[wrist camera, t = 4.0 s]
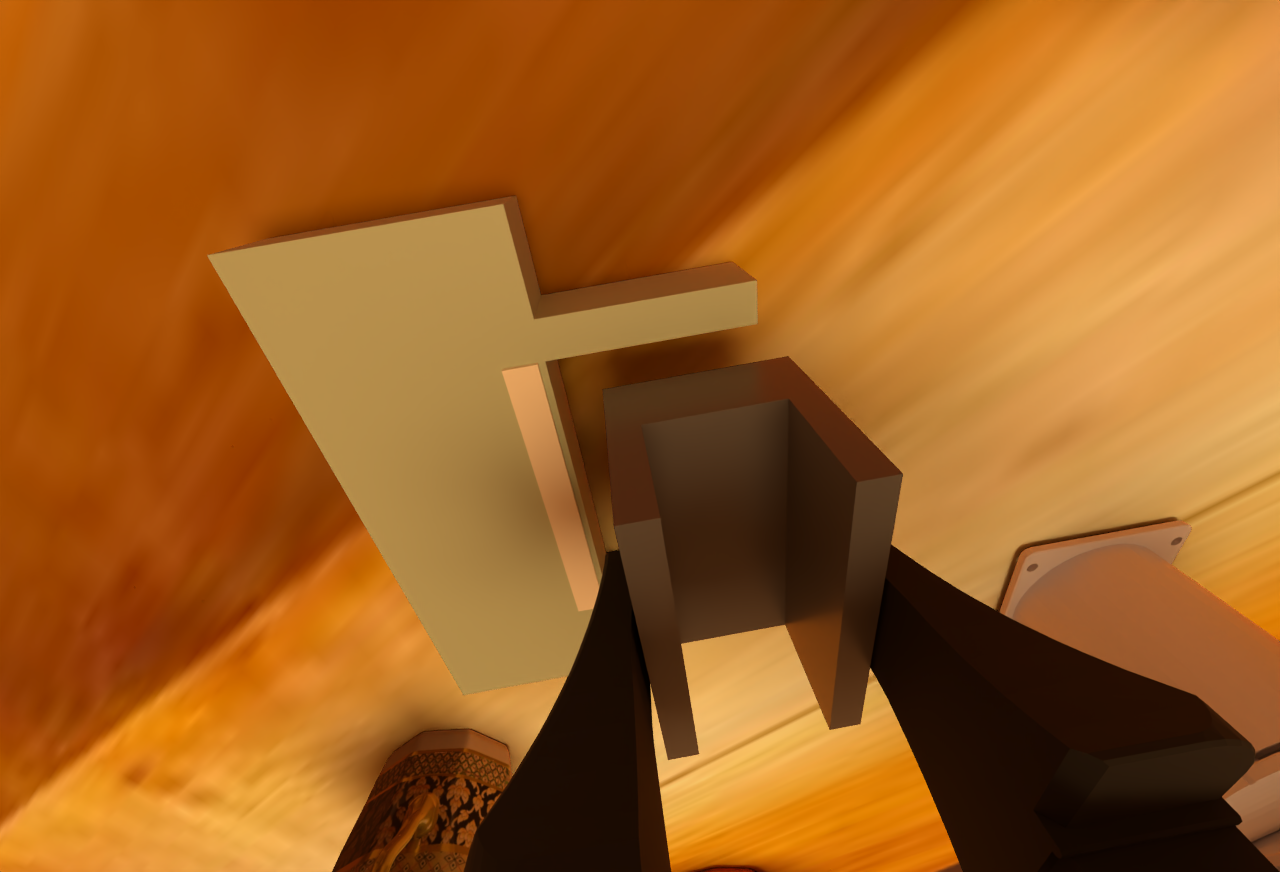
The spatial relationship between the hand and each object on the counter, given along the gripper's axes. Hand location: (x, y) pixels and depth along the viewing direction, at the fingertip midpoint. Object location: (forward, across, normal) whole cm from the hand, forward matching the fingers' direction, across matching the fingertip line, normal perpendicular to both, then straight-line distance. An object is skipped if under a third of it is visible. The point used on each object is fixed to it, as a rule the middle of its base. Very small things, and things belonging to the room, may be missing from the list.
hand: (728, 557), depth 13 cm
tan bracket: (+6, +4, 0) cm, 7 cm away
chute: (+2, 0, 0) cm, 3 cm away
